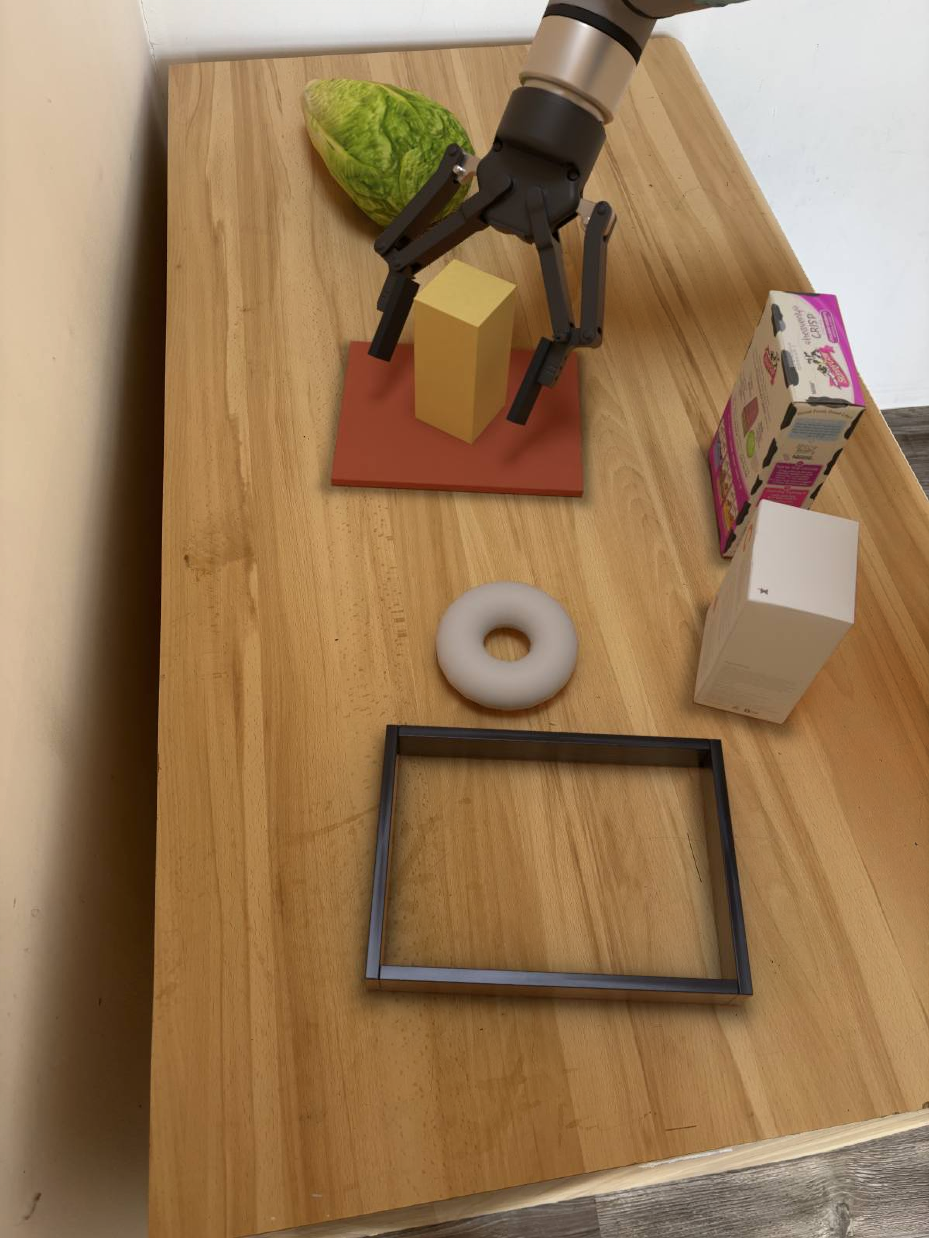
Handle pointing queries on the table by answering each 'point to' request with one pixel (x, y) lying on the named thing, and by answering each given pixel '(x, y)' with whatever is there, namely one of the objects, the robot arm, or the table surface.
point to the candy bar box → (785, 412)
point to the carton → (462, 349)
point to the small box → (778, 611)
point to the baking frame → (573, 750)
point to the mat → (432, 459)
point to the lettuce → (381, 142)
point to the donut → (507, 679)
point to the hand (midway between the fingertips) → (445, 390)
